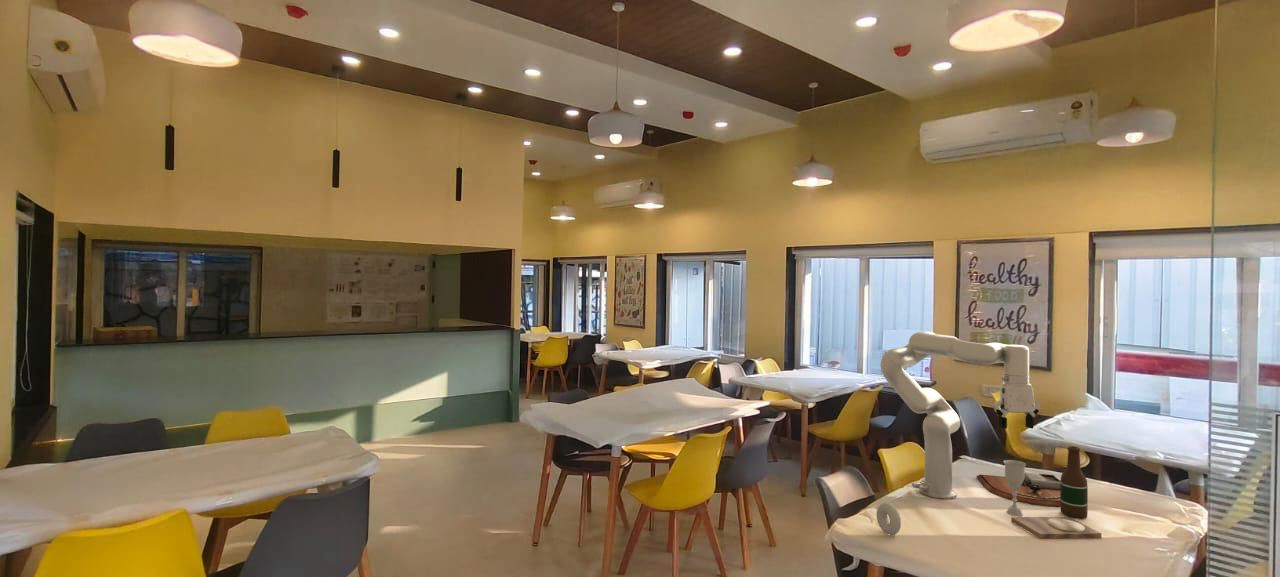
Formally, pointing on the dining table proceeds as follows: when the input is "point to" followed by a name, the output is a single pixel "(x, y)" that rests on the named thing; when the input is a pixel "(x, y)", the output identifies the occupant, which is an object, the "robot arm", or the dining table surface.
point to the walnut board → (1055, 527)
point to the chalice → (1014, 482)
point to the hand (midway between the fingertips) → (1016, 427)
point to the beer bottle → (1073, 487)
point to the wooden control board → (1026, 489)
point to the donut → (893, 515)
